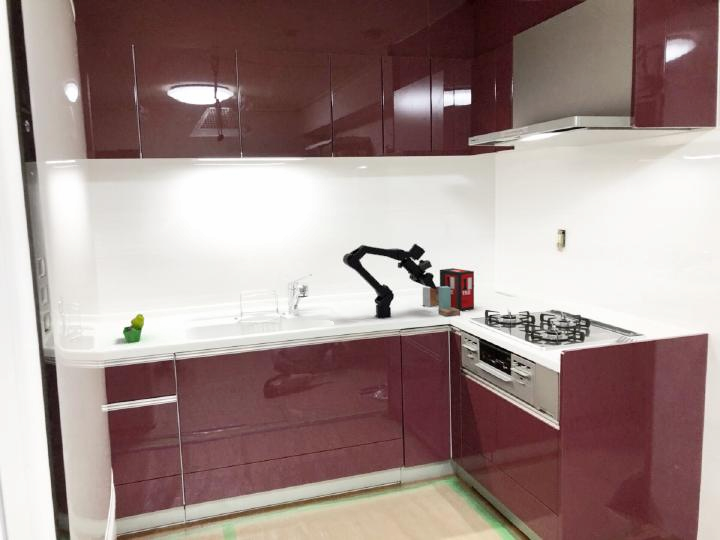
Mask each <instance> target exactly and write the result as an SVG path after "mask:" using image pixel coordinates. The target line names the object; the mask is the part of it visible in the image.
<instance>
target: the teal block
mask: <svg viewBox="0 0 720 540" xmlns="http://www.w3.org/2000/svg"><path fill="white" fill-rule="evenodd" d="M442 308H451V288H450V287H448V286H442V287H439V305H438V309H442Z"/></svg>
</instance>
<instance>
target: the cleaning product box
mask: <svg viewBox="0 0 720 540" xmlns="http://www.w3.org/2000/svg"><path fill="white" fill-rule="evenodd" d="M439 286H440V287H442V286H448V287H450V288H451V308H455V309H458V310H460V311H462V312H467V311H466V310H468V311H472V310H475V272H474V270H473V271H472V270H467V269H459V268H452V267H451V268H443V269H439Z"/></svg>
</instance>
